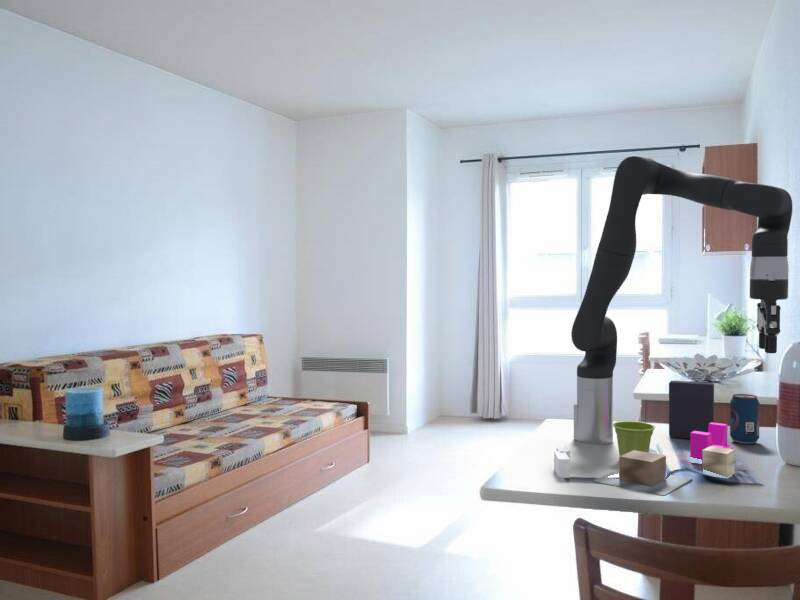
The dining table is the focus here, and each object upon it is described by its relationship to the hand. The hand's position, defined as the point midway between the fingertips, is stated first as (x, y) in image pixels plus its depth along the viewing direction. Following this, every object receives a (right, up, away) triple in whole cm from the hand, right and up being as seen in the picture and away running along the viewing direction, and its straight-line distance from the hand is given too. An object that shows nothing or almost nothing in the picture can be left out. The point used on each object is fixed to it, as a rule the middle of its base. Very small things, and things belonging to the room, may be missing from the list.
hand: (767, 350), depth 155 cm
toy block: (-7, -27, +11) cm, 30 cm away
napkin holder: (-45, -28, 0) cm, 53 cm away
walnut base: (-31, -27, -8) cm, 42 cm away
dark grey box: (-3, -26, +34) cm, 43 cm away
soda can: (+9, -26, +30) cm, 41 cm away
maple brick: (-12, -27, -3) cm, 30 cm away
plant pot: (-26, -27, +10) cm, 39 cm away
